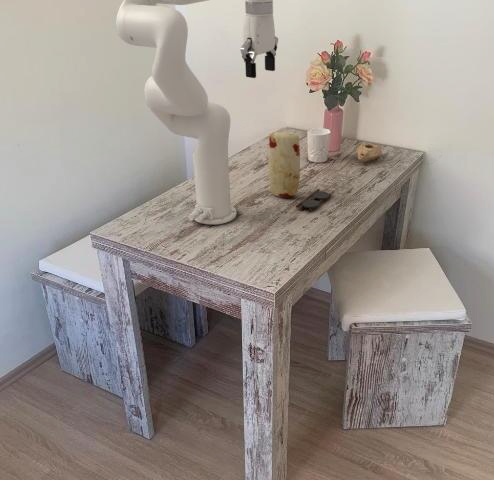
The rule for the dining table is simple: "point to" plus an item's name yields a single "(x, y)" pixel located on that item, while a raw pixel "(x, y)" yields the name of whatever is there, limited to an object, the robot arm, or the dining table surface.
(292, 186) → the food model
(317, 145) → the white cup
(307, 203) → the sunglasses
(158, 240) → the dining table surface
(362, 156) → the pottery oil lamp
